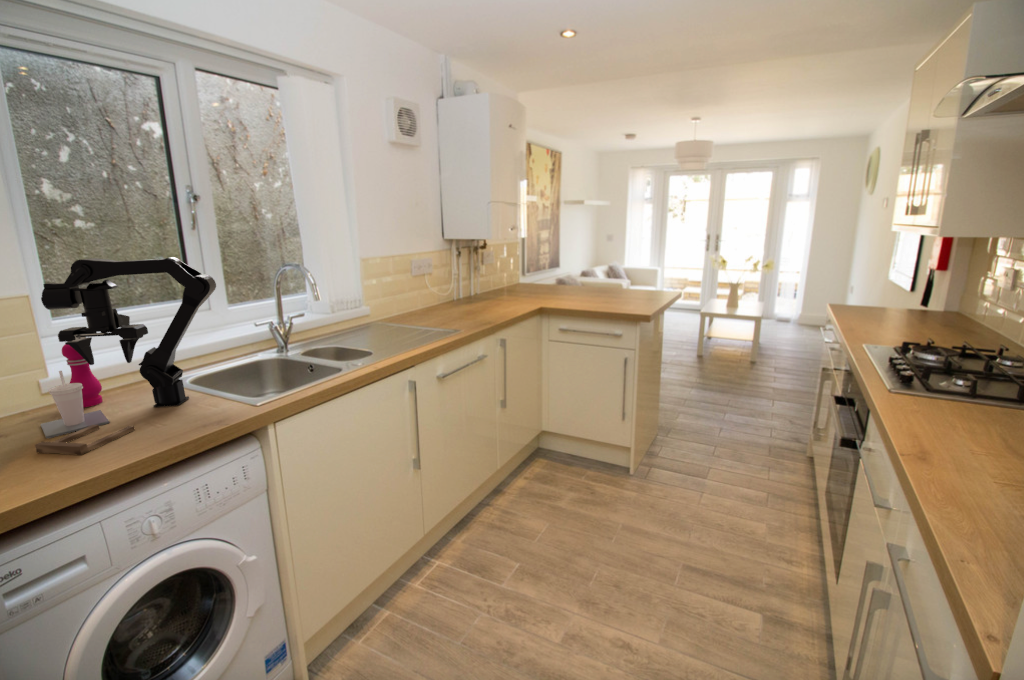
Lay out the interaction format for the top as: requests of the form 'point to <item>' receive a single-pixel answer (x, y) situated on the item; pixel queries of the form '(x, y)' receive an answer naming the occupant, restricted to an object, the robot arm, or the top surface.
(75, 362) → the pepper mill
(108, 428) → the top surface
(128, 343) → the robot arm
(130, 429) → the lane
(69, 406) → the smoothie
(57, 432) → the plate
